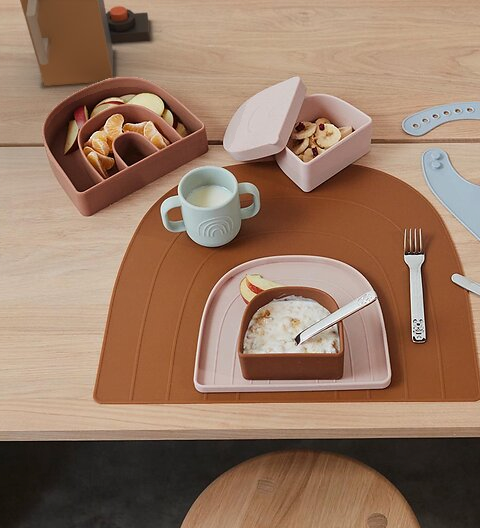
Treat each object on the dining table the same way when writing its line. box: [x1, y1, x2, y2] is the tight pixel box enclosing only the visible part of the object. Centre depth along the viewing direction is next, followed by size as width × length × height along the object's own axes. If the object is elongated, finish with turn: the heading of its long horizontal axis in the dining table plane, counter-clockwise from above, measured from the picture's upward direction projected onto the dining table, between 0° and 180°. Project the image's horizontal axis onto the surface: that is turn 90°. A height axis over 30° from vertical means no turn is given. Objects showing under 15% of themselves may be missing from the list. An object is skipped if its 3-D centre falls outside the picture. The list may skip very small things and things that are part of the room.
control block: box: [106, 8, 151, 44], centre depth 158 cm, size 12×8×4 cm, turn 98°
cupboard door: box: [19, 0, 114, 87], centre depth 136 cm, size 8×14×24 cm, turn 98°
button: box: [109, 5, 128, 22], centre depth 156 cm, size 4×4×2 cm
